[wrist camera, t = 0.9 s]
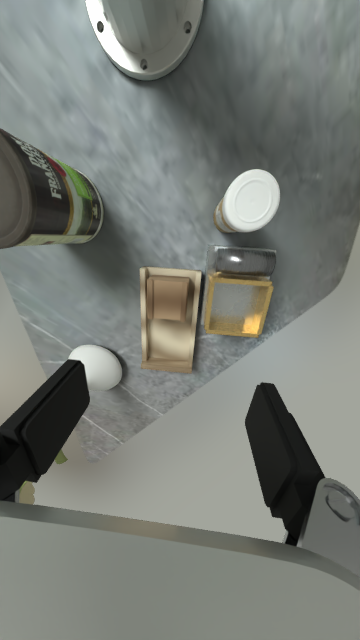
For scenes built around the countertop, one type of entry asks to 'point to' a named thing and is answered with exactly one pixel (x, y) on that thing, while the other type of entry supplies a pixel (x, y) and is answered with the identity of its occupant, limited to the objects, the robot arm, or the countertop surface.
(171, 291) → the tan cardboard box
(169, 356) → the tray
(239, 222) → the sprinkles bottle
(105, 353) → the flower in vase
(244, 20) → the countertop surface
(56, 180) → the coffee can
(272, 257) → the gold open box
